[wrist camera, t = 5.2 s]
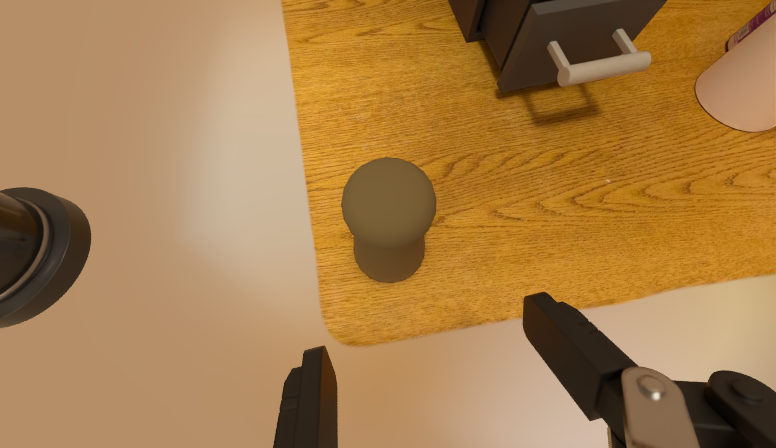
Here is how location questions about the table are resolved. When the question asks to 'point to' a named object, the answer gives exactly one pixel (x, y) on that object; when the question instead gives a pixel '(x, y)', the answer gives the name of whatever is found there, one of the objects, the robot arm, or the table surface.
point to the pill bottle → (752, 24)
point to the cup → (743, 82)
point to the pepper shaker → (389, 217)
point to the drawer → (565, 39)
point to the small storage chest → (468, 17)
